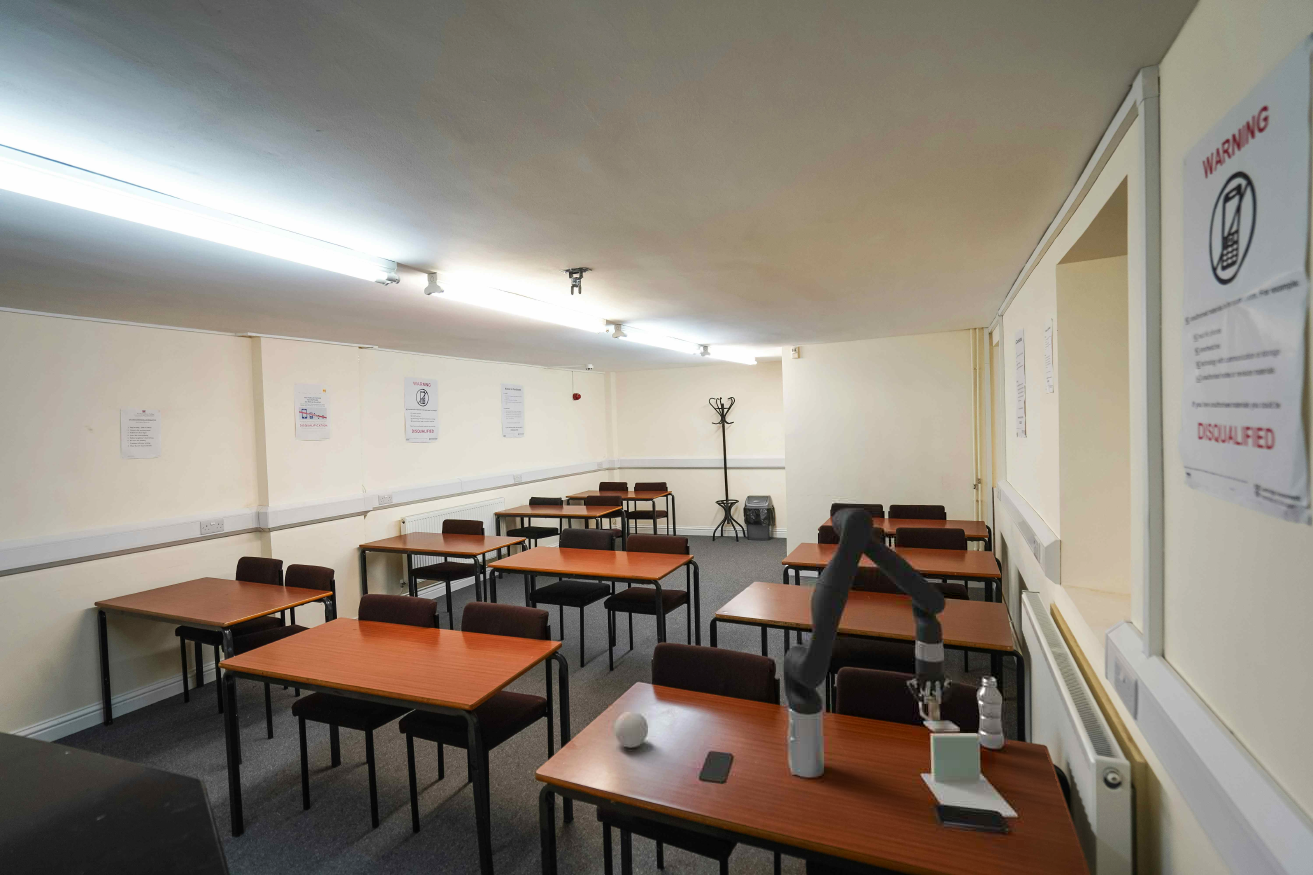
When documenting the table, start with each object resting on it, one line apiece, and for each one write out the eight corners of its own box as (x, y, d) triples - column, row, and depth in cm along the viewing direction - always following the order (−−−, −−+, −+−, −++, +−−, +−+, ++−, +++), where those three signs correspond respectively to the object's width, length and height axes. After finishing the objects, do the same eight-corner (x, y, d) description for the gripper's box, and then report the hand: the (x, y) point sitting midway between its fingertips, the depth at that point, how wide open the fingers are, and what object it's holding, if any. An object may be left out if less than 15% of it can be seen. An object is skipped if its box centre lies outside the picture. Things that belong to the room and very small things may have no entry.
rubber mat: (949, 816, 146) (949, 815, 146) (920, 774, 164) (920, 773, 164) (1018, 816, 145) (1018, 815, 145) (981, 774, 163) (981, 773, 163)
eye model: (625, 734, 190) (624, 703, 190) (654, 741, 186) (653, 708, 186) (609, 749, 181) (608, 716, 181) (639, 756, 177) (638, 722, 177)
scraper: (933, 731, 165) (931, 708, 166) (912, 714, 181) (910, 693, 182) (959, 731, 165) (957, 707, 166) (936, 714, 181) (933, 693, 182)
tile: (934, 781, 160) (933, 736, 160) (931, 778, 161) (930, 733, 161) (980, 781, 159) (979, 736, 159) (977, 778, 161) (976, 733, 161)
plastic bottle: (1007, 752, 174) (1005, 683, 174) (982, 751, 175) (980, 682, 175) (999, 741, 180) (998, 674, 180) (975, 740, 181) (973, 673, 181)
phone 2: (1010, 831, 139) (939, 822, 143) (1010, 836, 139) (939, 827, 143) (1000, 810, 146) (933, 802, 150) (1000, 815, 146) (933, 806, 150)
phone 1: (697, 778, 164) (708, 750, 178) (697, 781, 164) (708, 753, 178) (724, 782, 162) (733, 753, 176) (724, 785, 162) (733, 756, 176)
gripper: (910, 660, 172) (912, 721, 172) (959, 660, 172) (961, 720, 172) (900, 651, 180) (902, 709, 180) (948, 650, 179) (949, 708, 179)
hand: (931, 714), depth 176 cm, fingers closed on scraper
